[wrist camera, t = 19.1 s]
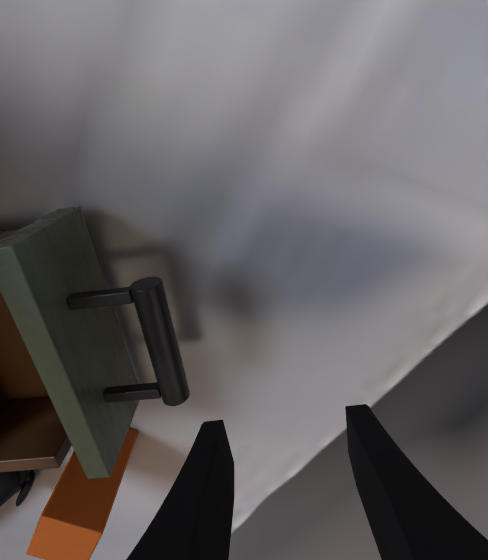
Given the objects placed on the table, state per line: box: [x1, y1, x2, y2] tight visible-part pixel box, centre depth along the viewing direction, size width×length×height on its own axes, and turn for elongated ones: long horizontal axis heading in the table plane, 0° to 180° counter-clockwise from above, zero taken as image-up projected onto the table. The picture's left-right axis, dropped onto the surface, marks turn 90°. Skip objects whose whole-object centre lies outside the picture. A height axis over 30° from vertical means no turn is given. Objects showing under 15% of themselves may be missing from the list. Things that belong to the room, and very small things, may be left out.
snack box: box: [27, 428, 138, 560], centre depth 23 cm, size 3×4×7 cm
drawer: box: [0, 207, 190, 479], centre depth 19 cm, size 17×12×6 cm
